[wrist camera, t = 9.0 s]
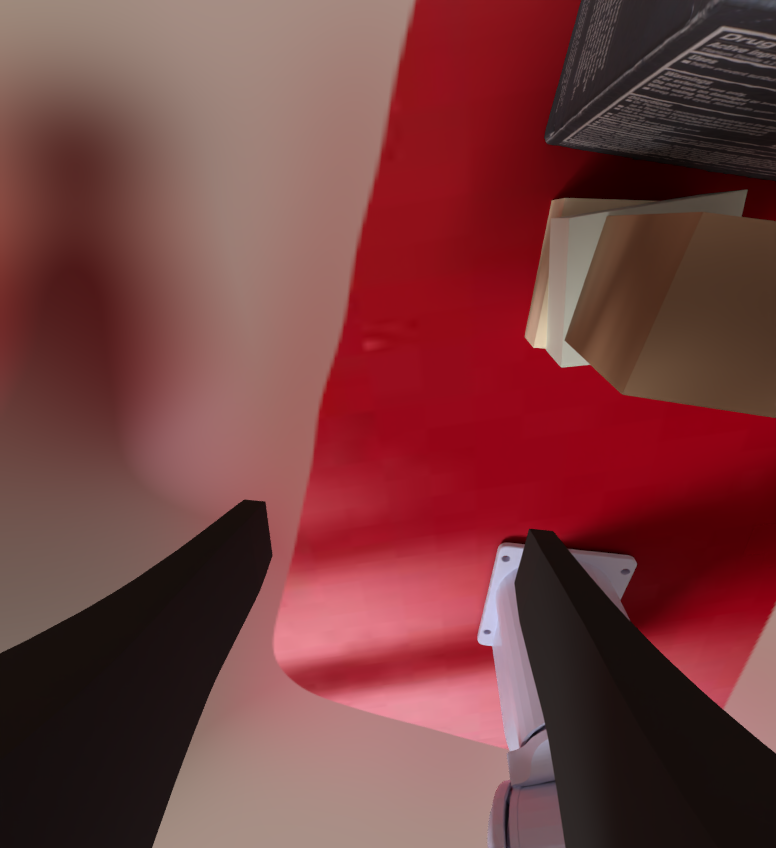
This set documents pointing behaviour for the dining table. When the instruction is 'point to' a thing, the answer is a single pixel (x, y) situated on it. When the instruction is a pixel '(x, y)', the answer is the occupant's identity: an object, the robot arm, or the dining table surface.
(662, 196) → the dining table surface
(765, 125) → the small box
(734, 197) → the tower top
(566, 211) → the tower base
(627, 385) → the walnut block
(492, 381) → the dining table surface
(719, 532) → the dining table surface
